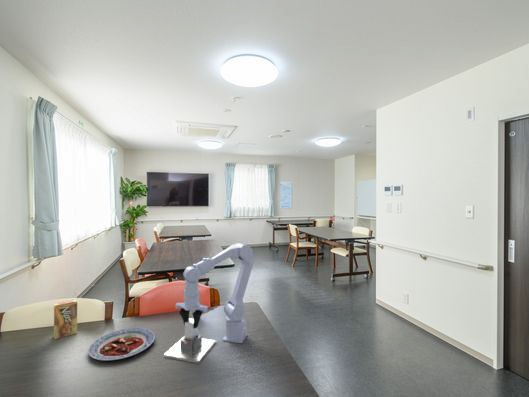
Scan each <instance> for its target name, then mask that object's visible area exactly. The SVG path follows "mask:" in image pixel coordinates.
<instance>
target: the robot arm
mask: <svg viewBox="0 0 529 397" xmlns="http://www.w3.org/2000/svg"><path fill="white" fill-rule="evenodd" d="M253 254H254V250H253V249H252V247H251V246H250V245H248V244H244V243H242V242H240V241H239V242H237V241H236V242H235V243H233V244H231V245H229V246H228V247H227V248H225V249H224V250H222V251H221V252H219V253H218V254H216V255H214V256H212V257H203V258H202V260H201V261H198V262H197V263H193V264H192V265H191V266H190V265H189V266H187V267H185V269H184V271H183V272H182V275H183V278H184V290H185V303H184V302H176V303H175V309H176V310H178V309H180V310H179V311H178V312H179V315H180V316H181V319H182V321H183V325H184V326H185V322H186V321H187V320H188V319H189V312H190V310H195V312H194V313H193V317H194V328H197V327H198V328H199V323H200V320H201V317H202V314H203V313H207V312H208V311H209V310H208V308H209V306H207V305H204V304H201V303H200V304H198V291H199V281H200V279H201V277H202V276H204V275H205V274H207V273H209V272H210V271H212V270H214V269H215V267H216V265H218V264H220V263H222V262H223V261H225V260H227V259H229V258H232V257H233V258H238V260H239V261H240V263H241V265H240V268H239V270H238V275H237V277H236V281H235V285H234V288H233V291H232V295H231V296H230V297H229V298H228V299H227V302H226V303H225V304H224V307H223V311H224V313H225V315H226V316H225V335H224V337H223V338H222V341H223V342H224V341H225V342H231V343H237V344H238V343H239V344H242V343H243V342H244V340H245V339H246V337H247V336H248V332H247V326H248V324H247V319H243V317H244V315H245V314H244V313H245V312H244V308H245V303H244V297H245V294H246V290H247V286H248V283H249V280H250V276H251V273H252V270H253V266H254V257H253Z"/></svg>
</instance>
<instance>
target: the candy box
mask: <svg viewBox="0 0 529 397" xmlns="http://www.w3.org/2000/svg"><path fill="white" fill-rule="evenodd" d="M76 334H78V301H77V299H73V300H69V301H63V302H57V303H54V305H53V339H54V340H57V339H60V338H63V337H67V336H68V337H69V336H72V335H76Z"/></svg>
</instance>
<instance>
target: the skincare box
mask: <svg viewBox="0 0 529 397" xmlns="http://www.w3.org/2000/svg"><path fill="white" fill-rule="evenodd" d="M200 295H201V294H200V290H198V304H201V299H200V298H201V297H200ZM183 303H185V289H184V290H183ZM194 312H195V310H190V312H189V318H193V319H194V317H193V313H194Z"/></svg>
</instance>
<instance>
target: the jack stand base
mask: <svg viewBox="0 0 529 397" xmlns="http://www.w3.org/2000/svg"><path fill="white" fill-rule="evenodd" d="M202 336H203V335H201V334H199V333H198V337H197V338H196V339H195V340H194V341H188V340H185V335H184V336H183V337H181V338H180V339H179V340H178V341H176V343H175V344H174V345H173V346H171V347H170V348H169V349H168V350H167V351H166V352H164V354H163V357H164V358H167V359H173V360H179V361H183V362H188V363H189V362H190V363H196V364H200V363H201V361H202V360H203V358H205V357H206V356H207V354H208V353H209V352H210V350H211V349H212V348H214V346H215V345H216V343H217V339H210V338H205V337H202Z"/></svg>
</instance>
